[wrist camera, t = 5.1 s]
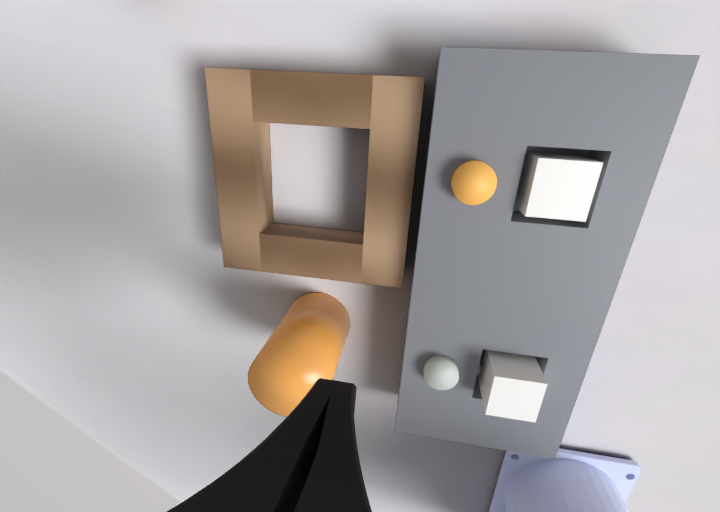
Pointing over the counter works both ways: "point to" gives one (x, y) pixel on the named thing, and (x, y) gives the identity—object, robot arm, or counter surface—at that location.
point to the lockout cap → (299, 352)
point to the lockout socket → (254, 180)
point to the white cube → (557, 186)
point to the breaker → (511, 385)
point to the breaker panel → (525, 229)
